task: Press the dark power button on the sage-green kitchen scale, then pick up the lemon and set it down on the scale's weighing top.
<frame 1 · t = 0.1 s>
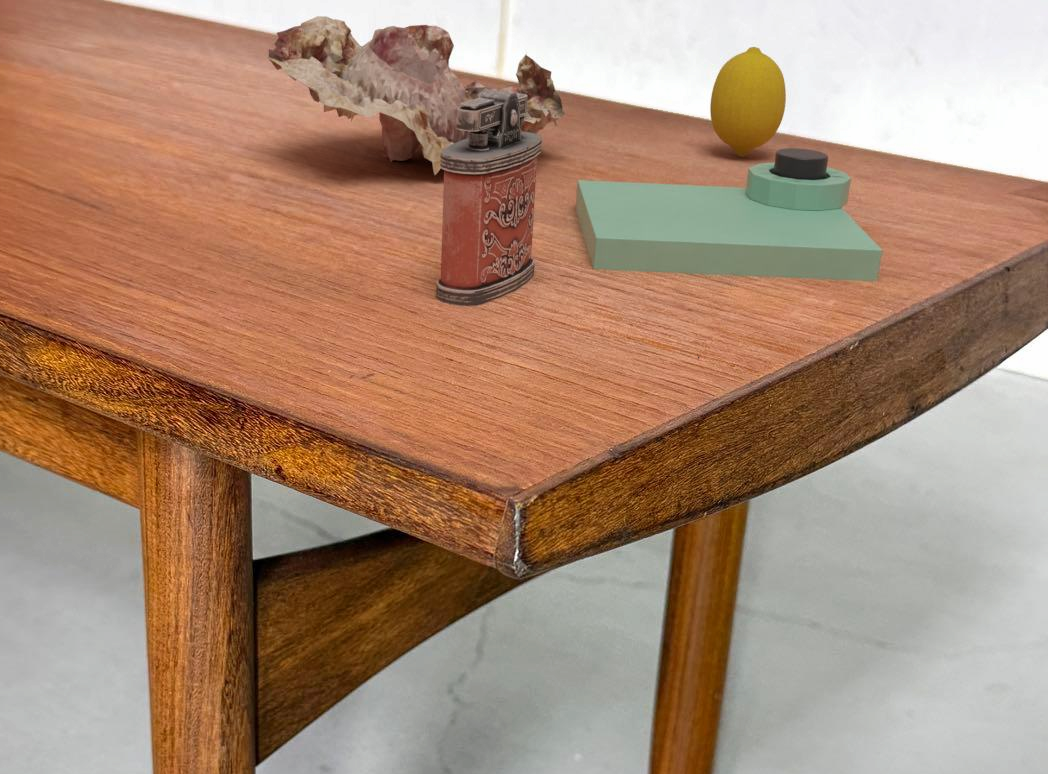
lemon: (740, 159, 113), on the table
lighter: (486, 290, 79), on the table
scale: (716, 243, 89), on the table
power button: (800, 166, 92), point 4 cm above the table, slide at 0.1 cm
mineral formation: (422, 164, 105), on the table
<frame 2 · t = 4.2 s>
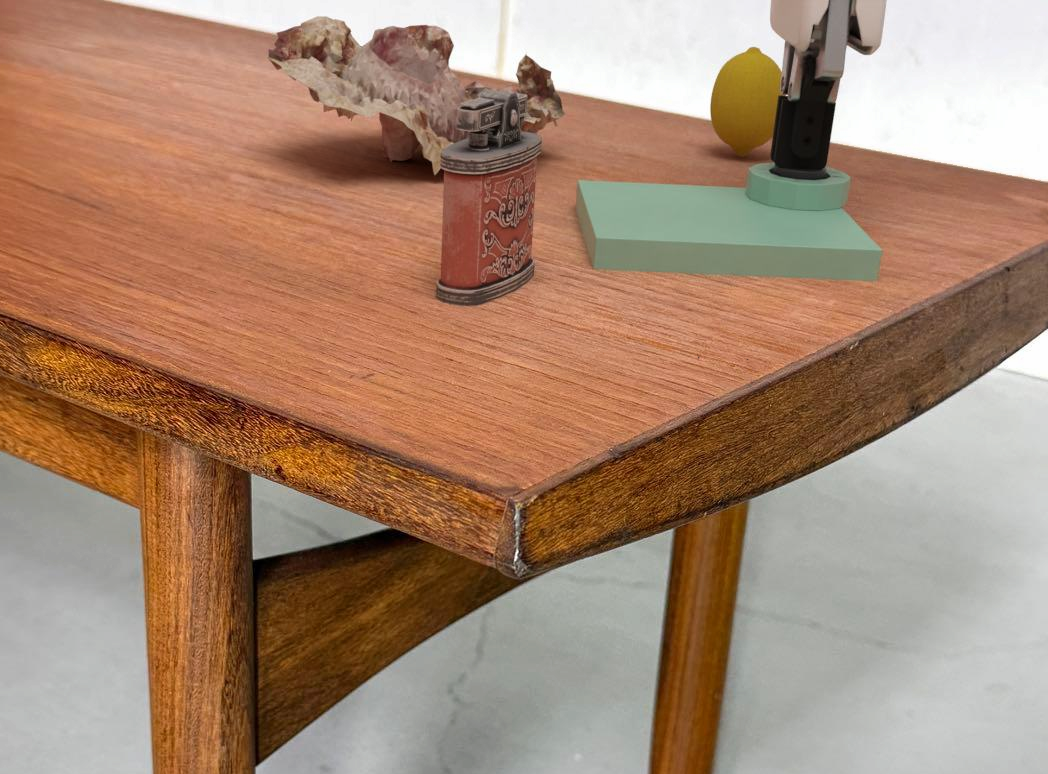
hand: (797, 164, 92), 4 cm above the table, tool pointing down, fingers closed
power button: (798, 178, 92), point 3 cm above the table, slide at -0.6 cm, touching gripper
everything else where it was.
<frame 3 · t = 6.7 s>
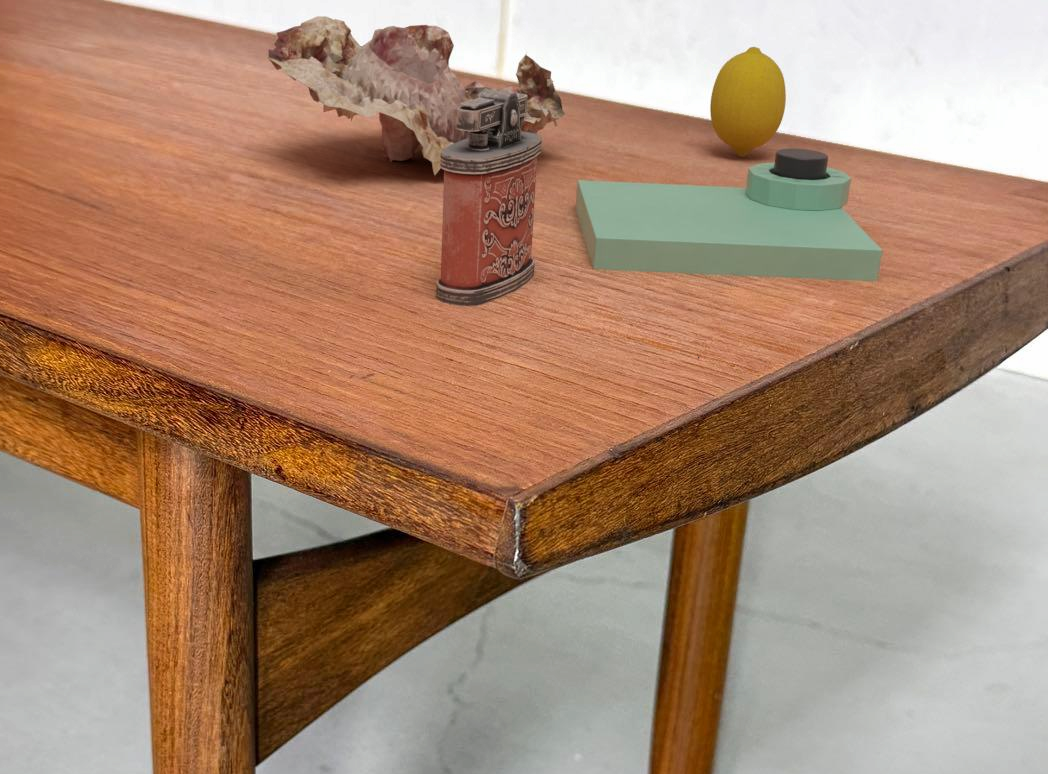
power button: (800, 166, 92), point 4 cm above the table, slide at 0.1 cm
everything else where it was.
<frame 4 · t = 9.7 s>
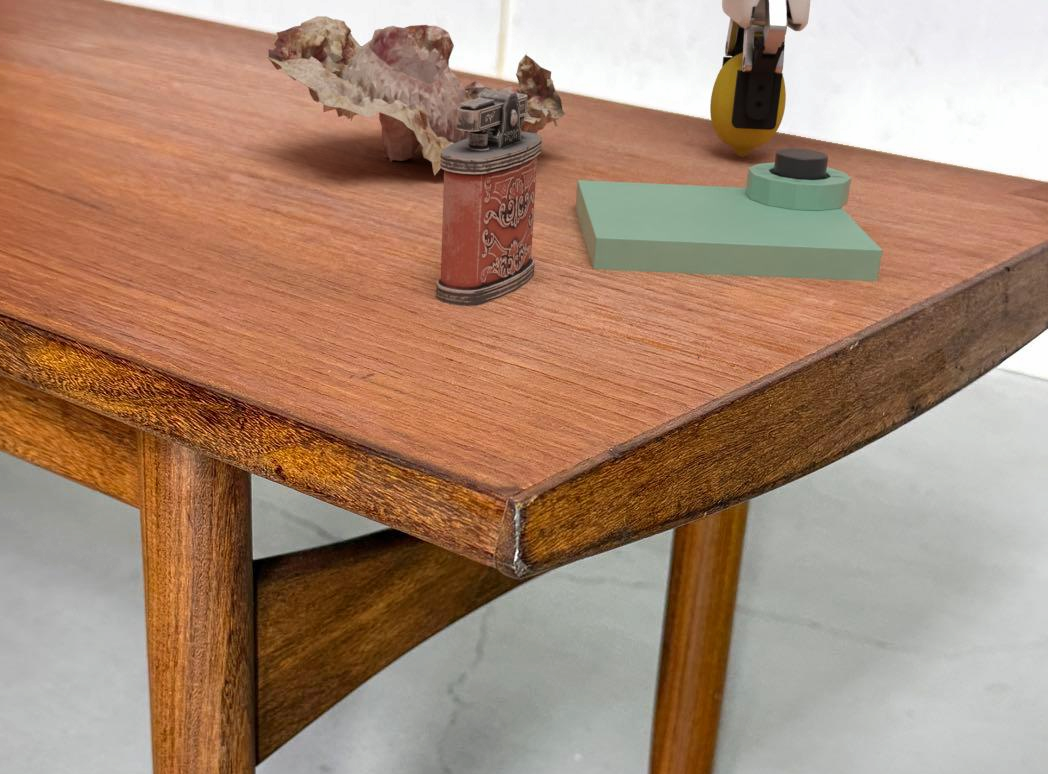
hand: (745, 117, 111), 3 cm above the table, tool pointing down, fingers closed on lemon, 5 cm apart
lemon: (740, 159, 113), on the table, touching gripper
everything else where it was.
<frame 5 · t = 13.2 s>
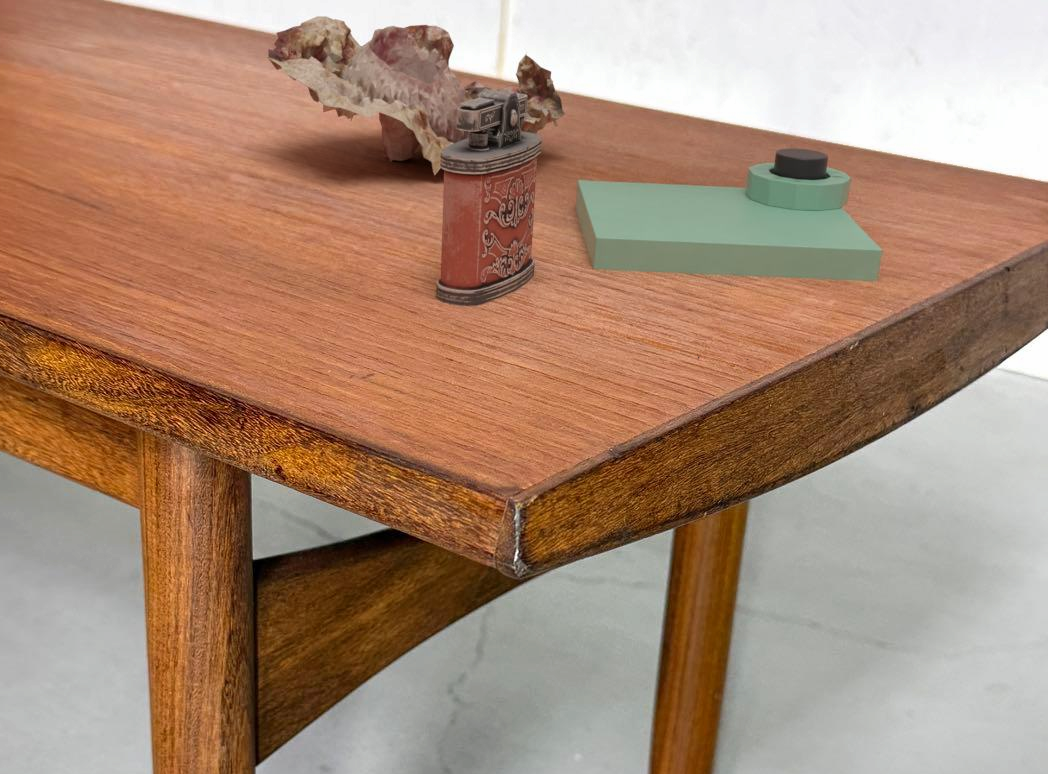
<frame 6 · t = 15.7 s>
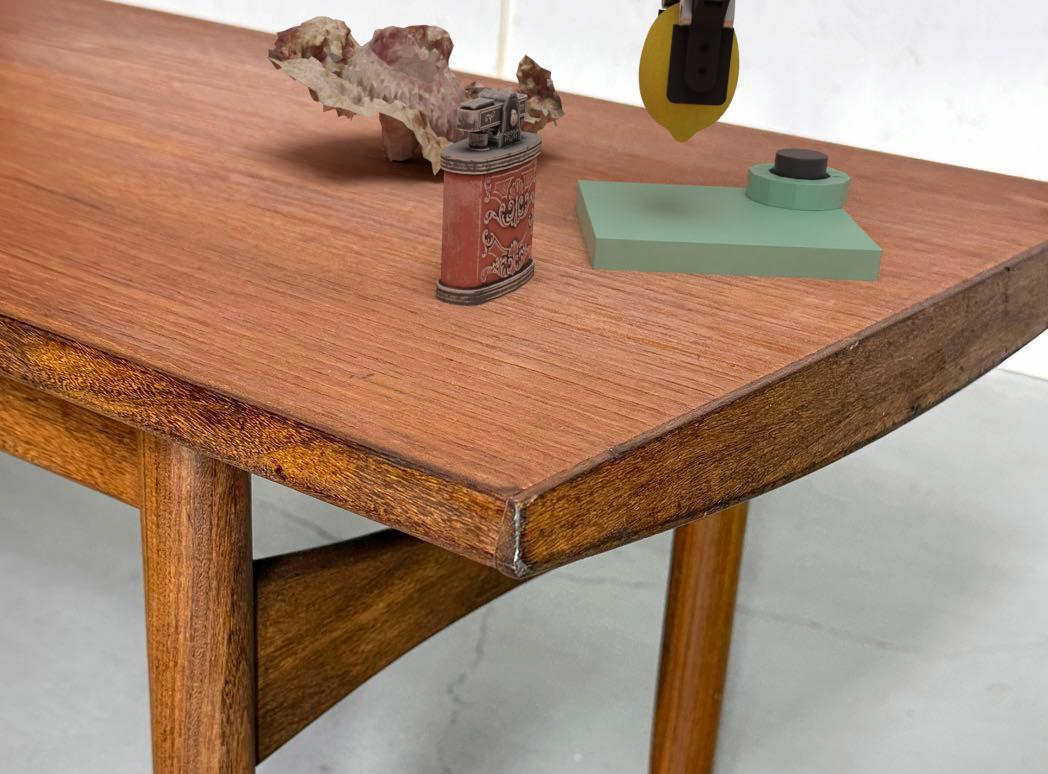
hand: (687, 89, 83), 9 cm above the table, tool pointing down, fingers closed on lemon, 5 cm apart
lemon: (680, 146, 84), point 6 cm above the table, touching gripper
everything else where it was.
when the fingers open (5 cm above the table, at t = 17.2 s): lemon stays where it is, resting on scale.
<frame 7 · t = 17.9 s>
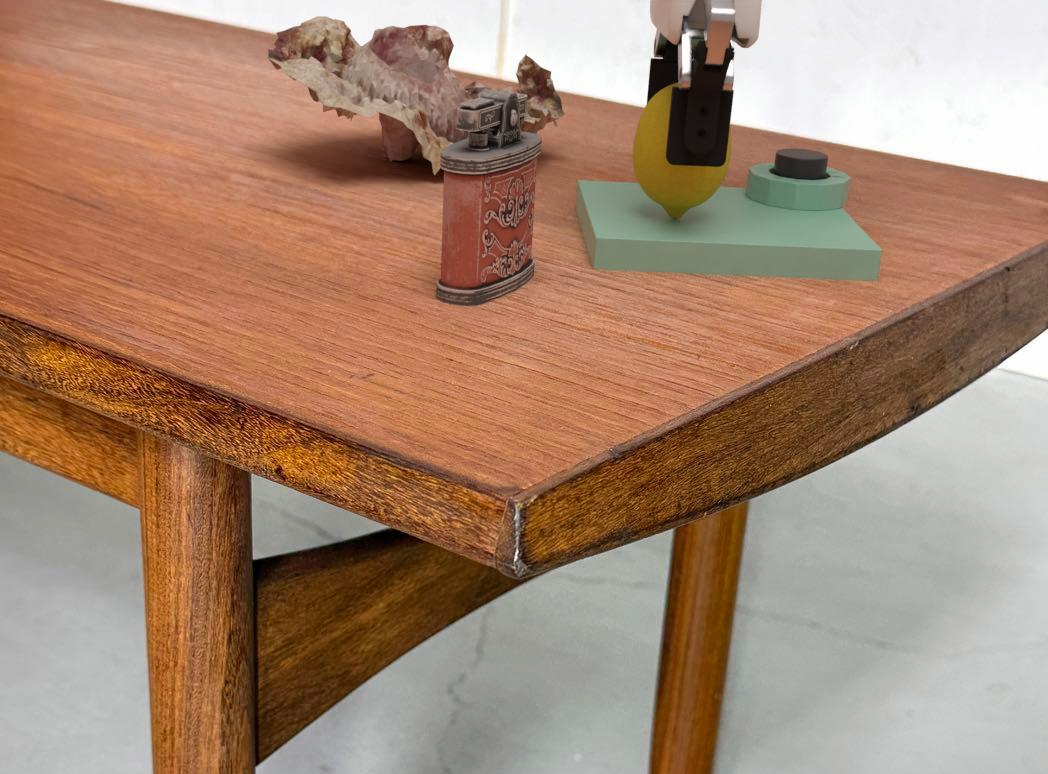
hand: (682, 146, 84), 6 cm above the table, tool pointing down, fingers open, 9 cm apart
lemon: (674, 221, 86), point 2 cm above the table, touching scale
everything else where it was.
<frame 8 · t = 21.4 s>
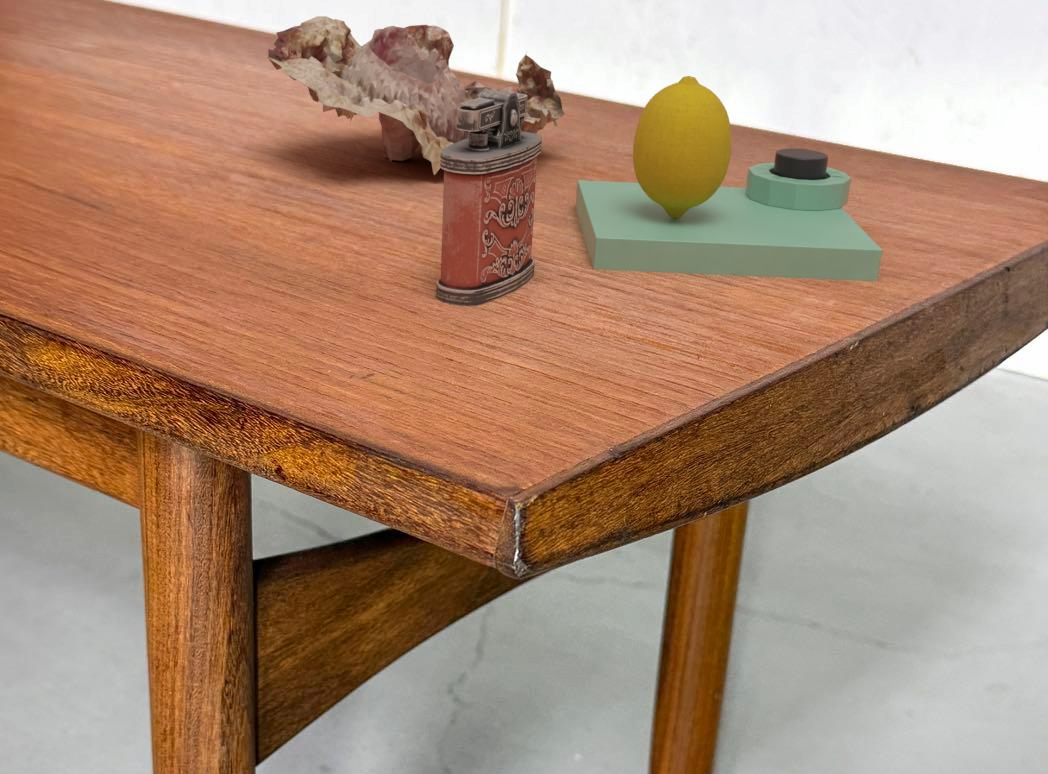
nothing on the table moved.
at the end: power button pushed in 0.9 cm at the most during the clip, back to where it started at the end; lemon inside the target area on the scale (3.6 cm from its centre), point 1.7 cm above the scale's base; lemon touching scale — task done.
